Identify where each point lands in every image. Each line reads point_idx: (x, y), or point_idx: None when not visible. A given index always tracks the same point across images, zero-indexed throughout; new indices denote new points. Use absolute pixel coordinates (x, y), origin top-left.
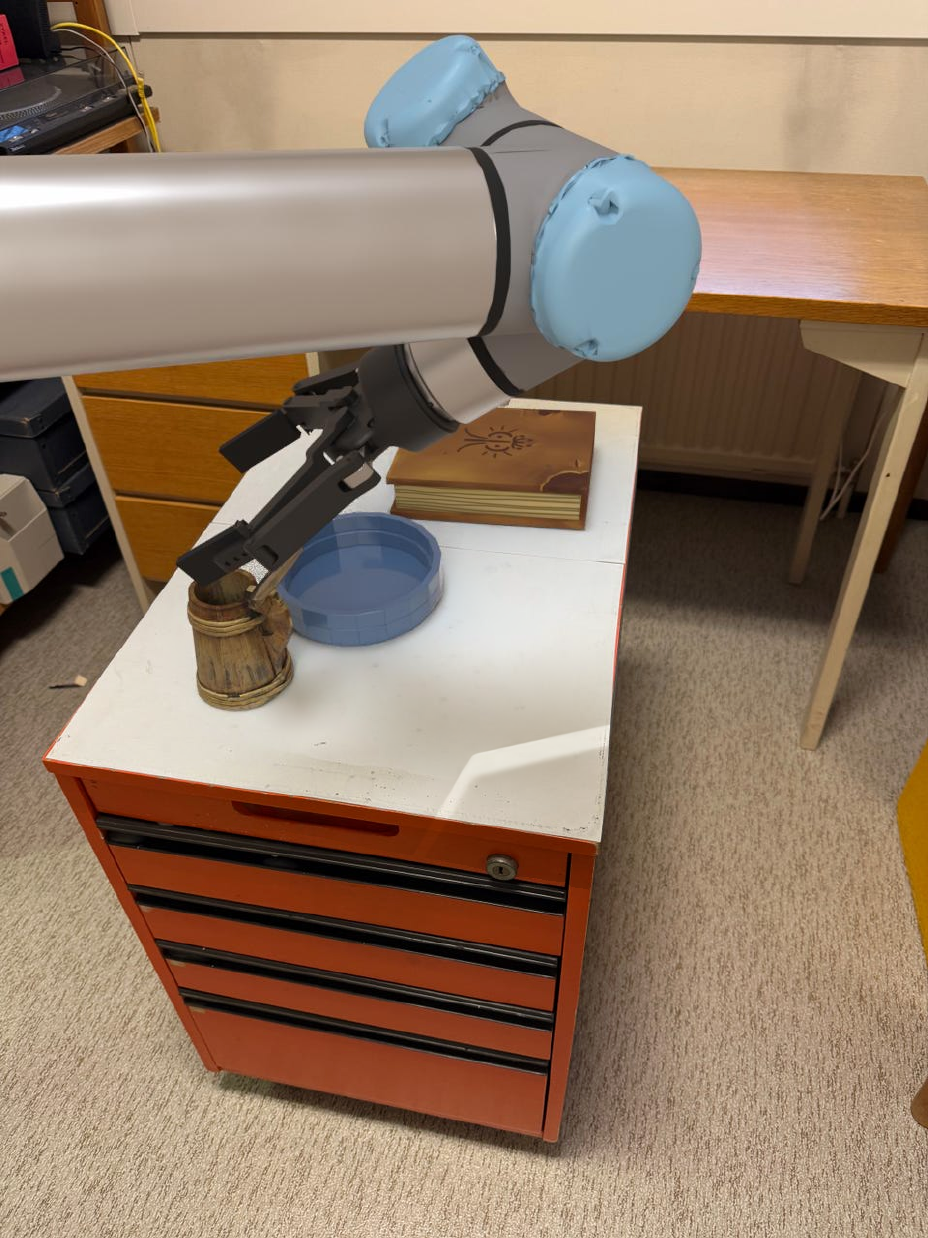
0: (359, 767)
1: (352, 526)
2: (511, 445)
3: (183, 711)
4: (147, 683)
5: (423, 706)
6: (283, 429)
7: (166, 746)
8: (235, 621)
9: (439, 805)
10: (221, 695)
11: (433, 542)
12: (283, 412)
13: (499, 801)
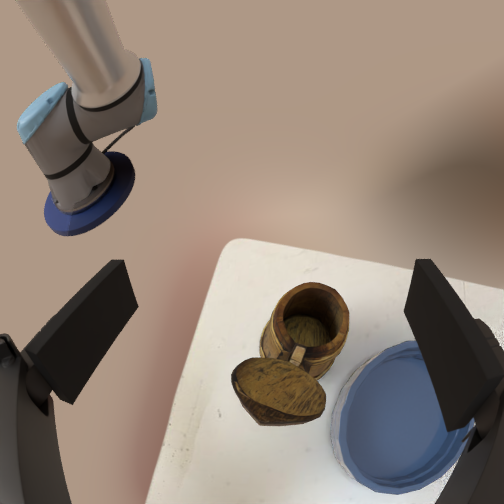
0: (193, 441)
1: None
2: None
3: (262, 305)
4: (293, 273)
5: (254, 487)
6: (459, 395)
7: (228, 300)
8: (275, 338)
9: (155, 486)
10: (262, 332)
11: (434, 478)
12: (501, 382)
13: None
